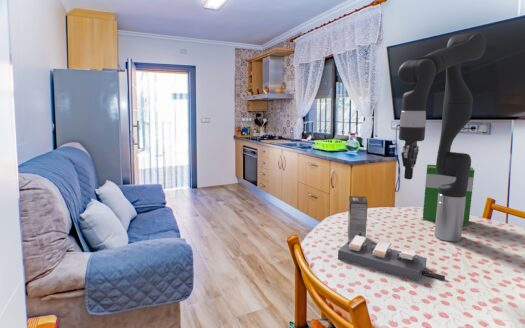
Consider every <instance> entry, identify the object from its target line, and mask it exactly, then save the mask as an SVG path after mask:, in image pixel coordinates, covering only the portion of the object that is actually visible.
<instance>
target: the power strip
mask: <svg viewBox="0 0 525 328" xmlns="http://www.w3.org/2000/svg"><path fill="white" fill-rule="evenodd" d="M351 242H352V239H350V240H349V241H348V240H347V242H346V243H345V244H344V245H342V246H341V247H340V248H339V249H338V250H337V259H338V260H342V261H345V262H348V263H352V264H355V265H358V266H363V267H366V268H370V269H373V270H377V271H380V272H384V273H387V274H391V275H393V276H399V277H401V278H405V279H408V280H412V281H416V282H419V281H420V279H422V278H421V277H422V276H423V275H424V276H427V277H432V278H435V279H438V280H443V281H445V279H446V275H443V274H440V273H439V274H438V273H437V272H436V273H435V272H431V271H427V270H426V267H427V261H428V259H427V257H424V256H420V255H417V254H416V256H415V258H414V259H412V260H410V259H406V258H402V257H399V253H401V252H402V251H401V250H394V249H393V248H389V249H388V251H387V253H386V255H385V257H384V258H383V257H379V256H375V255H373V251H374V249H375V247H376V245H377V244H376V245H375V244H370V243H367V242H365V243H364V244H363V245H362V248H361V249H360V251H356V250H352V249H349V247H348V246H349V244H350V243H351Z"/></svg>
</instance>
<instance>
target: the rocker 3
mask: <svg viewBox="0 0 525 328" xmlns="http://www.w3.org/2000/svg"><path fill="white" fill-rule="evenodd" d="M416 255H417V253H415V252H412V251H411V252H410V251H407V250H403V251H401V253H399V257H402V258H406V259H410V260H412V259H414V258H415V256H416Z"/></svg>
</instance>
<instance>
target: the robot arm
mask: <svg viewBox="0 0 525 328" xmlns="http://www.w3.org/2000/svg"><path fill="white" fill-rule="evenodd" d="M486 47H487V41H486V36H485V35H484V34H483V33H481V32H469V33H463V34H457V35H453V36H451V37H450V38H449V40H448V41H447V44H446V47H443V48H440V49H436V50H434V51H432V52H430V53H427V54H426V55H423V56H419V57H415V58H412V59H409V60H406V61H404V62H403V63H402V64H401V65H400V66H399V68H398V71H397V77H398V79H399V80H400V82H401V83H403V84H406V85H413V84H414V85H415V84H416V85H415V87H414V88H413V90H410V91H406V92H404V94H403V95H402V100H401V101H402V102H401V113H400V119H399V131H398V140H399V141H403V142H404V141H405V143H404V145H403V146H402V152H401V153H400V155H401V160H402V166H403V167H404V175H403V176H404V179H405V180H411V179H413V175H414V168H415V165H416V164H417V159H418V155H419V151H420V150H419V146H418V142H423V141H424V140H425V137H426V136H425V135H426V123H427V101H428V100H427V99H428V96H429V94H430V90H431V88H432V85H433V83H434V80H435V77H436V75H438V74H440V73H442V72H444V71H445V87H444V88H445V89H444V96H443V103H442V105H443V106H442V119H441V132H440V136H439V137H440V138H439V145H438V149H437V156H436V160H435V162H436V163H435V165H436V170H437V173H438V174H439V175H444V176H450V177H456V180H455V182H453V183H450V184H444V185H441V186H439V190H438V202H437V212H436V221H435V225H434V237H435V238H437V239H440V240H442V241H445V242H460V241H462V236H463V227H464V225H463V219H464V210H465V200H466V192H467V187H468V180H469V174H470V168H472V158H471V156H470V154H468V153H464V152H454V151H451V150H452V145H453V142H454V140H455V138H456V137H457V135H458V134H459V133H461V131H462V130H463V128H464V127H465V126H466V125H467V123H468V122H469V121H470V119H471V117H472V112H473V103H474V98H473V94H472V93H471V91H470V90H469V88H468V86H467V84H466V82H465V81H464V79H463V76H462V74H461V73H462V71H461V64H462V63H465V62H468V61H475V60H478V59H480V58H481V57H482V56H483V55H484V54H485V51H486Z"/></svg>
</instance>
